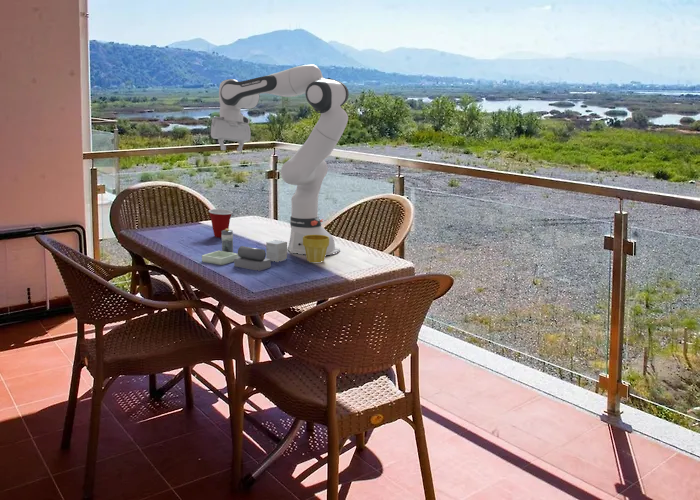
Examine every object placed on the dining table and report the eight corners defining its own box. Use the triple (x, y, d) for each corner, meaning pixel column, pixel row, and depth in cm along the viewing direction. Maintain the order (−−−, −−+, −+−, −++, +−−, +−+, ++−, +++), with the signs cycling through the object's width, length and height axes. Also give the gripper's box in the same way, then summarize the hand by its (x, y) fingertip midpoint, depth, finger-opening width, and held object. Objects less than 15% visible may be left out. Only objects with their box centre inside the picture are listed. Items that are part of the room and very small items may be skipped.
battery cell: (235, 254, 275) (235, 228, 272) (228, 256, 271) (227, 230, 268) (227, 253, 277) (226, 227, 274) (219, 255, 273) (219, 229, 271)
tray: (238, 259, 266) (238, 253, 265) (221, 265, 258) (221, 258, 257) (219, 256, 271) (219, 250, 270) (201, 261, 262) (201, 255, 262)
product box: (265, 260, 267) (265, 242, 265) (275, 257, 272) (275, 239, 270) (277, 262, 264) (277, 244, 262) (287, 259, 268) (287, 241, 267)
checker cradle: (270, 266, 256) (270, 248, 255) (259, 270, 250) (259, 251, 249) (246, 262, 262) (245, 244, 261) (234, 266, 256) (233, 247, 255)
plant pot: (328, 258, 272) (329, 234, 270) (328, 264, 262) (329, 239, 260) (303, 257, 272) (303, 234, 269) (302, 264, 261) (302, 239, 259)
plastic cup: (230, 239, 303) (230, 212, 300) (206, 238, 303) (206, 212, 300) (235, 234, 314) (234, 208, 311) (212, 233, 314) (211, 208, 311)
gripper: (217, 114, 278) (218, 148, 278) (252, 120, 294) (253, 151, 295) (206, 116, 282) (208, 149, 282) (242, 122, 298) (243, 153, 298)
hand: (231, 150), depth 288 cm, fingers open, 8 cm apart
